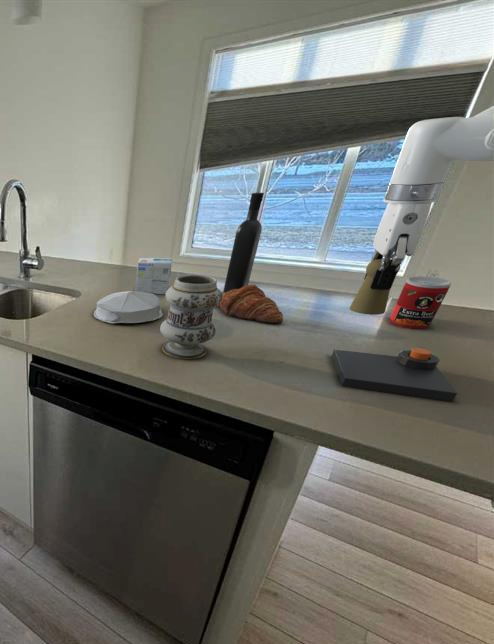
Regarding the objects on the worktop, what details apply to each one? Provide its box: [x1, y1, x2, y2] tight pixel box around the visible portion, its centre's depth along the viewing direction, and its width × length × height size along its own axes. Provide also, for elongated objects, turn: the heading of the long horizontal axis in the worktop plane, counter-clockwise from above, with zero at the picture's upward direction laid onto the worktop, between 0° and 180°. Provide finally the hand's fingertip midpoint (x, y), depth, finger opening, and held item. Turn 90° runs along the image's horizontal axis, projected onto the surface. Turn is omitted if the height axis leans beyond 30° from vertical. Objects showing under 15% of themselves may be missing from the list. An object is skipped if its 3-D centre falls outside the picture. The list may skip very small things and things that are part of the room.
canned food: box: [389, 276, 452, 330], centre depth 100 cm, size 8×8×11 cm
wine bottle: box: [222, 192, 265, 293], centre depth 123 cm, size 6×6×30 cm
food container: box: [93, 290, 163, 324], centre depth 122 cm, size 20×20×7 cm
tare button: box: [409, 347, 432, 360], centre depth 82 cm, size 3×3×2 cm
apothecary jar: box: [159, 274, 222, 360], centre depth 96 cm, size 12×12×18 cm
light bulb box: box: [134, 257, 173, 295], centre depth 137 cm, size 11×7×11 cm, turn 66°
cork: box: [348, 259, 401, 316], centre depth 87 cm, size 6×6×11 cm
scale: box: [331, 349, 458, 403], centre depth 82 cm, size 16×14×4 cm
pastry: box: [215, 284, 284, 325], centre depth 115 cm, size 17×15×8 cm
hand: (376, 284), depth 87 cm, fingers closed on cork, 5 cm apart
